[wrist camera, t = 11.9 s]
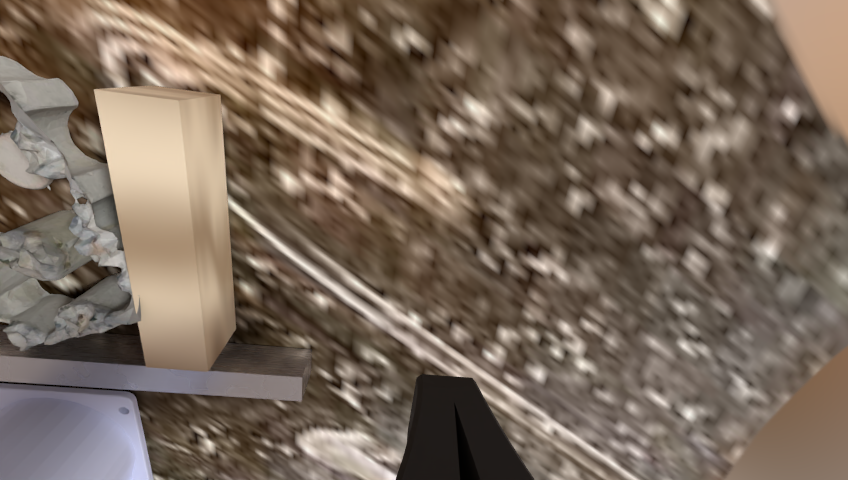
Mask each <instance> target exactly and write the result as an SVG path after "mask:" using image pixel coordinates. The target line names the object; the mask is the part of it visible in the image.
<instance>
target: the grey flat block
mask: <svg viewBox="0 0 848 480" xmlns="http://www.w3.org/2000/svg"><path fill="white" fill-rule="evenodd" d="M6 327H7V325H0V381H4V382H19V383H34V384H49V385H65V386H80V387H95V388H110V389H125V390H140V391H155V392H170V393H185V394H200V395H215V396H230V397H245V398H260V399H275V400H290V401H302V399H303V396H304V393H305V390H306V386H307V383H308V380H309V377H310V374H311V354H312V349H299V348H286V347H274V346H261V345H248V344H236V343H227V344H226V345H225V347H224V348H223V350H222V351H221V353H220V354H219V356H218V357H217V359H216V360H215V362H214V364H213V365H212V367H211V368H210V370H209V371H208V372H204V371H190V370H176V369H162V368H148V367H146V364H145V359H144V353H143V348H142V343H141V337H140V336H134V335H121V334H109V333H94V334H88V335H85V336H82V337H79V338H77V337H73V338H69V339H66V340H63V341H60V342H58V343H55V344H53V345H45V344H44V343H41V344H38V345H36V346H33V347H31V348H29V349H27V350H24V351H20V347H18V346H14V345H13V344H12V342H11V341H10V340H9V338H8V336H7V334H6V332H4V331H3V330H4V329H5V328H6Z"/></svg>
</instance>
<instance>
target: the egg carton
mask: <svg viewBox="0 0 848 480" xmlns="http://www.w3.org/2000/svg"><path fill="white" fill-rule="evenodd" d="M0 91H1V92H3V93H4V94H5V95H6V96H7V98H8V99H9V101H10V104H11V110H12V113H13V114H14V115H15V117H16V118H17V120H18V121H17V123H16V126H15V130H14V131H10V132H9V133H5V134H3V133H2V134H1V135H0V174H1V175H2V176H3V177H5V178H6V179H7V180H8V181H10V182H12V183H14V184H16V185H17V186H20V187H23V188H28V189H44V188H45V187H48V189H49V190H50V187H49V184H51V183H52V181H53V180H54V179H60V178H67V179H68V181H69V183H70V193H71V194H72V195H73V197H74V198H75V203H74V205H72V208H73V210H63V211H58V212H56V213H54V214H51V215H48V216H46V217H43V218H41V219H38V220H36V221H33V222H31V223H28V224H26V225H24V226H21V227H19V228H16V229H14V230H11V231H9V232H6V233H2V232H0V322H5V323H9V326H7V327H6V328H5V329H4V330H3V331H4V332H6V334H7V336H8V338H9V340H10V341H11V342H12V344H13V345H14V346H18V347H20V351H24V350H27V349H29V348H31V347H33V346H36V345H38V344H41V343H44V344H45V345H53V344H55V343H58V342H60V341H63V340H66V339H69V338H73V337H77V338H79V337H82V336H85V335H88V334H94V333H102V332H105V331H107V330H109V329H112V328H114V327H117V326H119V325H121V324H125V325H128V324H133V323H136V322H139V321H141V307H140V297H139V306H138V311H137V314H136V311H135V305H134V300H133V295H132V289H131V284H130V279H129V273H128V268H127V263H126V257H125V252H124V247H123V242H122V236H121V231H120V226H119V220H118V215H117V210H116V204H115V199H114V194H113V188H112V183H111V178H110V172H109V167H108V163H100V162H99V161H97V160H95V159H92V158H90V157H88V156H86V155H84V154H83V153H82V152H81V151H80V150H79V149H78V148H77V147H76V146H75V145H74V143H73V141H72V139H71V137H70V134H69V130H68V127H67V124H68V118H69V115H70V114H71V112H72V111H73V110H74V109H75V108H77V107H78V101H77V99H76V97H75V95H74V93H73V91H72V90H71V89H70V88H69V87H68V86H67V85H66V84H65V83H64V82H63V81H62V80H60V79H58V78H53V79H45V78H42V77H39V76H36V75H35V74H33V73H32V72H30V71H29V70H27V69H26V68H24V67H23V66H22V65H20V64H19V63H18V62H16V61H14V60H11V59H9V58H6V57H3V56H0ZM80 197H84V198H85V199H87V202H86V204H79V203H78V201H77V199H78V198H80ZM92 259H93V260H94V261H95V262H99V264H98V266H112V267H119V268H121V273H120V274H116V275H112V276H108V277H106V278H105V279H103V280H102V281H100V282H99V283H97V284H96V285H94V286H93V287H92V288H91V289H89V290H88V291H86V292H85V293H83V294H82V295H81V296H79V297H77V298H76V299H73V298H70V297H67V296H64V295H60V294H49V293H48V292H46V291H45V290H44V289H43V288H41V286H40V285H39V283H38V281H37V280H36V279H39V280H42V281H45V280H59V279H61V278H64V277H65V276H66V275H67V274H69V273H71V272H72V271H74V270H76V269H77V268H79V267H80V266H82V265H84V264H85V263H87V262H89V261H90V260H92Z"/></svg>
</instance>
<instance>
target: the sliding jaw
mask: <svg viewBox="0 0 848 480" xmlns="http://www.w3.org/2000/svg"><path fill="white" fill-rule="evenodd" d="M94 92H95V98H96V103H97V108H98V114H99V119H100V124H101V130H102V135H103V140H104V146H105V151H106V156H107V162H108V167H109V172H110V178H111V183H112V188H113V194H114V199H115V204H116V210H117V215H118V220H119V226H120V231H121V236H122V242H123V247H124V252H125V257H126V263H127V268H128V273H129V279H130V284H131V289H132V295H133V300H134V305H135V311H136V314H137V311H138V306H139V297H140V307H141V321H139V322H138V327H139V332H140V337H141V343H142V348H143V353H144V359H145V364H146V367H148V368H162V369H176V370H190V371H204V372H208V371H209V370H210V368H211V367H212V365H213V364H214V362H215V360H216V359H217V357H218V356H219V354H220V353H221V351H222V350H223V348H224V347H225V345H226V344H227V342H228V341H229V339H230V338H231V336H232V334H233V333H234V331H235V330H236V318H235V304H234V289H233V274H232V259H231V244H230V230H229V215H228V200H227V185H226V170H225V156H224V141H223V126H222V111H221V96H220V95H218V94H210V93H203V92H195V91H188V90H181V89H173V88H166V87H159V86H138V87H122V88H107V89H94Z"/></svg>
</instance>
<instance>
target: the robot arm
mask: <svg viewBox="0 0 848 480" xmlns="http://www.w3.org/2000/svg"><path fill="white" fill-rule="evenodd" d="M0 480H153V475H152V470H151V465H150V461H149V456H148V451H147V446H146V441H145V437H144V432H143V427H142V422H141V417H140V413H139V408H138V403H137V399H136V397H135V395H134V394H132V393H130V392H126V391H112V390H97V389H82V388H67V387H52V386H37V385H21V384H6V383H0ZM396 480H534V478H533V477H532V475H531V474H530V472H529V471H528V469H527V468H526V466H525V465H524V463H523V462H522V460H521V458H520V457H519V455H518V454H517V452H516V451H515V449H514V448H513V446H512V444H511V443H510V441H509V440H508V438H507V436H506V435H505V433H504V432H503V430H502V428H501V427H500V425H499V423H498V421H497V420H496V418H495V416H494V415H493V413H492V411H491V409H490V408H489V406H488V404H487V402H486V400H485V399H484V397H483V395H482V393H481V391H480V390H479V388H478V386H477V384H476V382H475V381H474V380H473V378H465V377H452V376H438V375H425V374H422V375H420V376H419V377H417V379H416V385H415V391H414V397H413V403H412V409H411V415H410V421H409V427H408V436H407V445H406V449H405V453H404V456H403V459H402V462H401V465H400V468H399V471H398V474H397V477H396Z"/></svg>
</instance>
